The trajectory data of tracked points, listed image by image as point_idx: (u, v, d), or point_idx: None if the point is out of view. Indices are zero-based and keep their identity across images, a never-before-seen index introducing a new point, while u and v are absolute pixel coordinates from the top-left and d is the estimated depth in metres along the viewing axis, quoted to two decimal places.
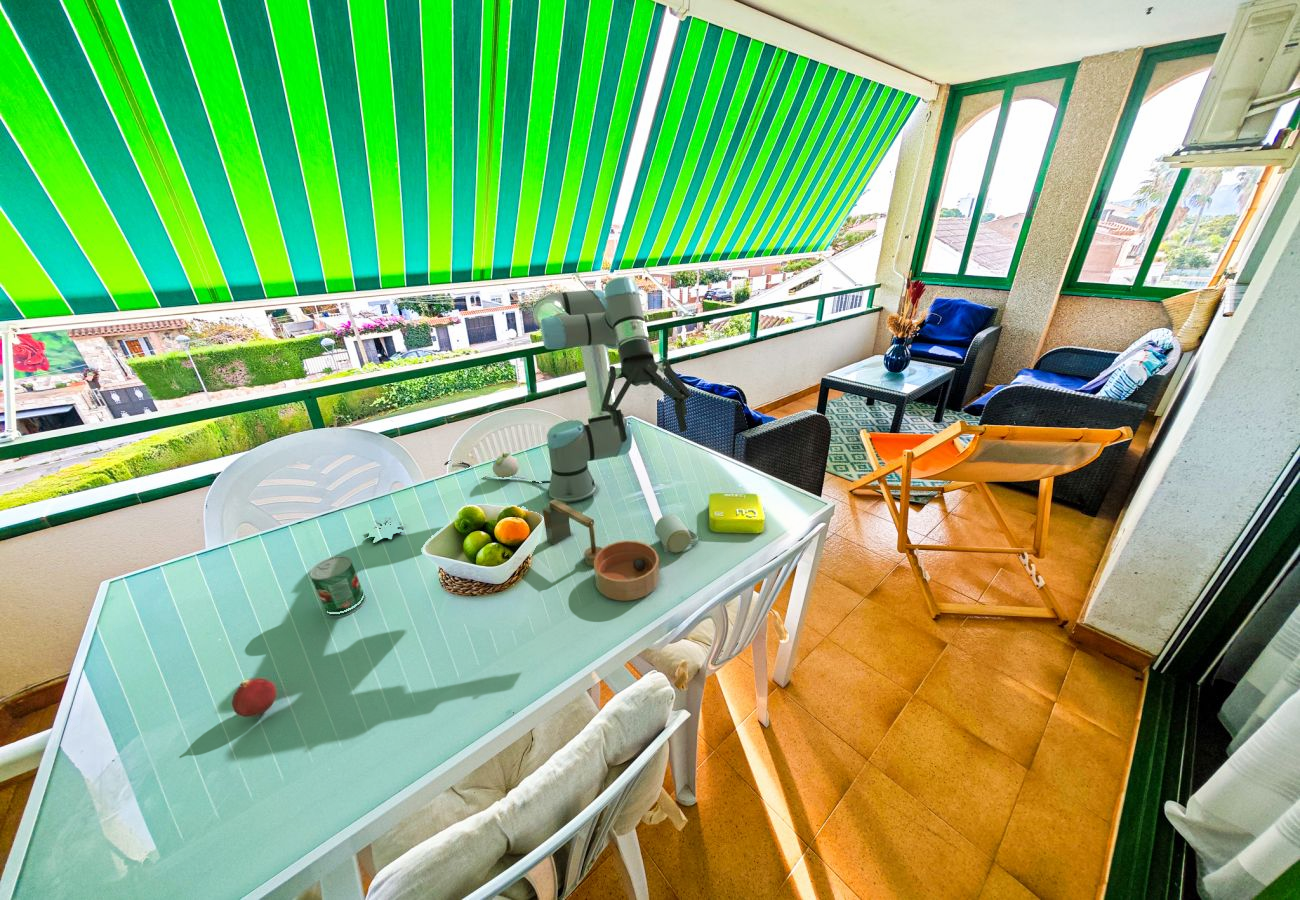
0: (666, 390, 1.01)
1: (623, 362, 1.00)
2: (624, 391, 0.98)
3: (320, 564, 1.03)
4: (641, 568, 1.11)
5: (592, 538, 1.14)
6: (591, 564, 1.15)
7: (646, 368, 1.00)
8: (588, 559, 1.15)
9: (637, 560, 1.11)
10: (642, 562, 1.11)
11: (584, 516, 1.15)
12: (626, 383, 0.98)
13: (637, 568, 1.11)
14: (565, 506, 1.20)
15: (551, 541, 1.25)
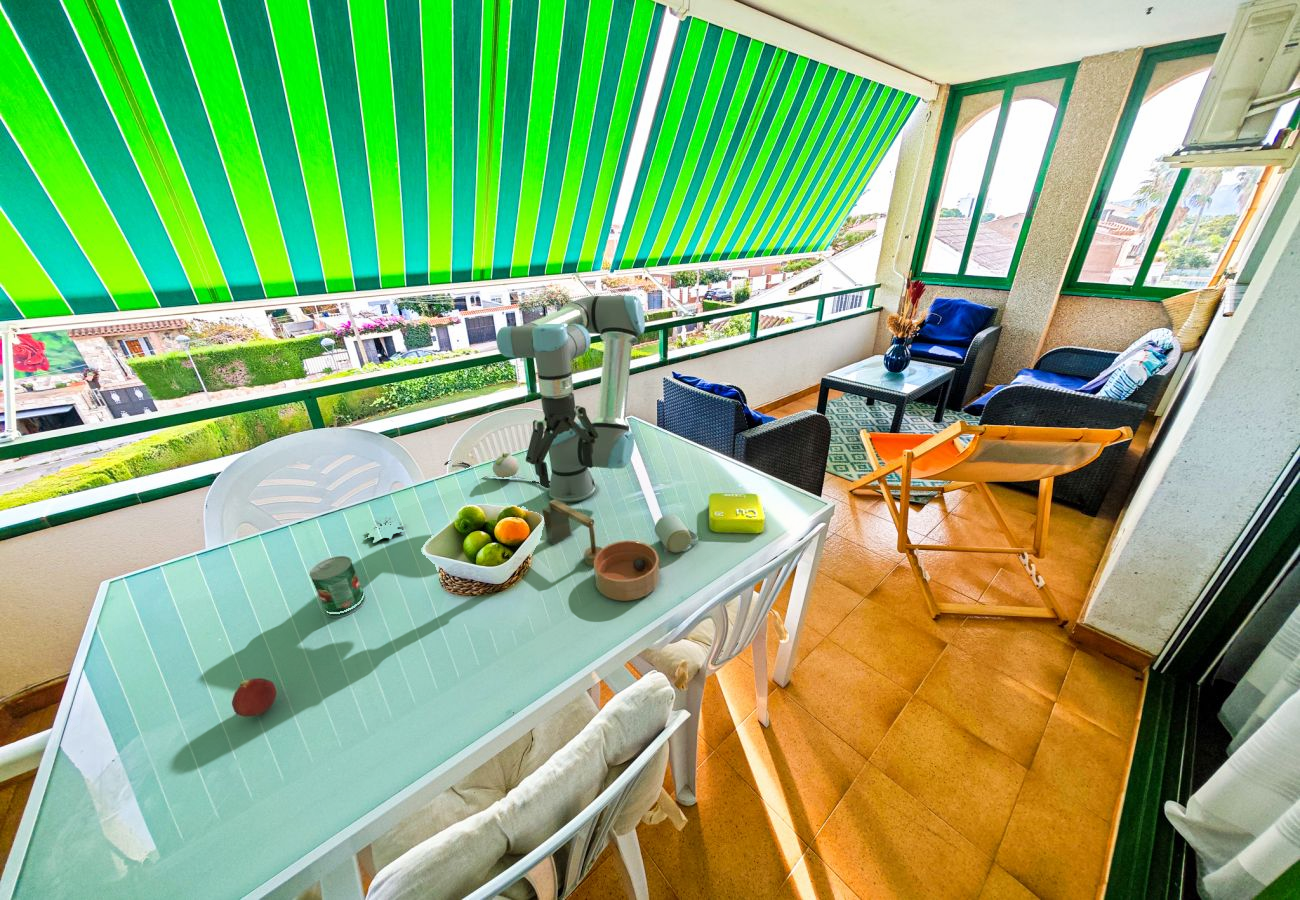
0: (579, 434, 1.13)
1: (549, 416, 1.04)
2: (549, 445, 1.06)
3: (320, 564, 1.03)
4: (641, 568, 1.11)
5: (592, 538, 1.14)
6: (591, 564, 1.15)
7: (569, 421, 1.07)
8: (588, 559, 1.15)
9: (637, 560, 1.11)
10: (642, 562, 1.11)
11: (584, 516, 1.15)
12: (551, 437, 1.05)
13: (637, 568, 1.11)
14: (565, 506, 1.20)
15: (551, 541, 1.25)
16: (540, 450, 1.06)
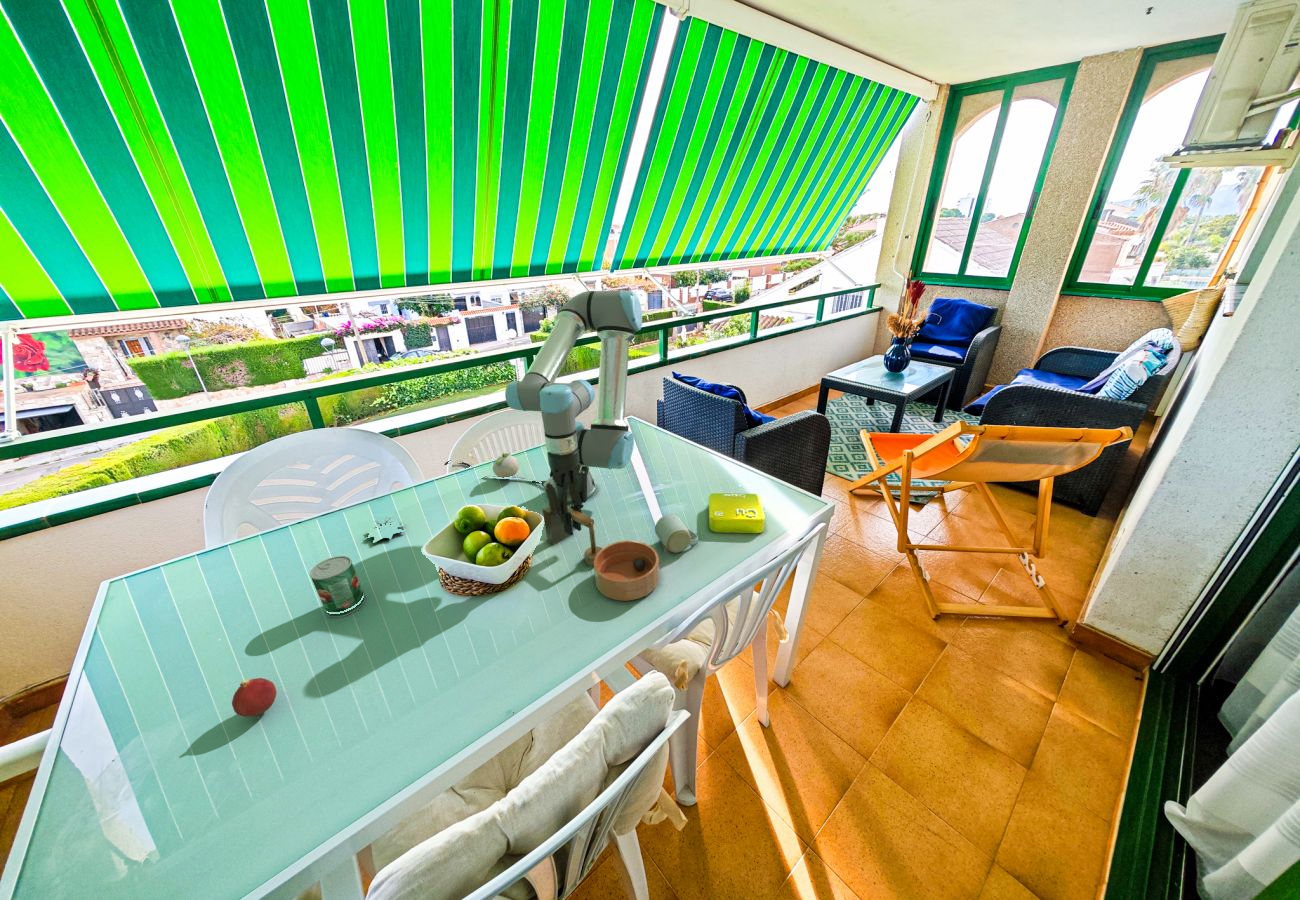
0: (573, 493, 1.17)
1: (555, 471, 1.10)
2: (566, 496, 1.14)
3: (320, 564, 1.03)
4: (641, 568, 1.11)
5: (592, 538, 1.14)
6: (591, 564, 1.15)
7: (573, 473, 1.13)
8: (588, 559, 1.15)
9: (637, 560, 1.11)
10: (642, 562, 1.11)
11: (584, 516, 1.15)
12: (564, 490, 1.13)
13: (637, 568, 1.11)
14: None
15: (551, 541, 1.25)
16: (560, 503, 1.15)
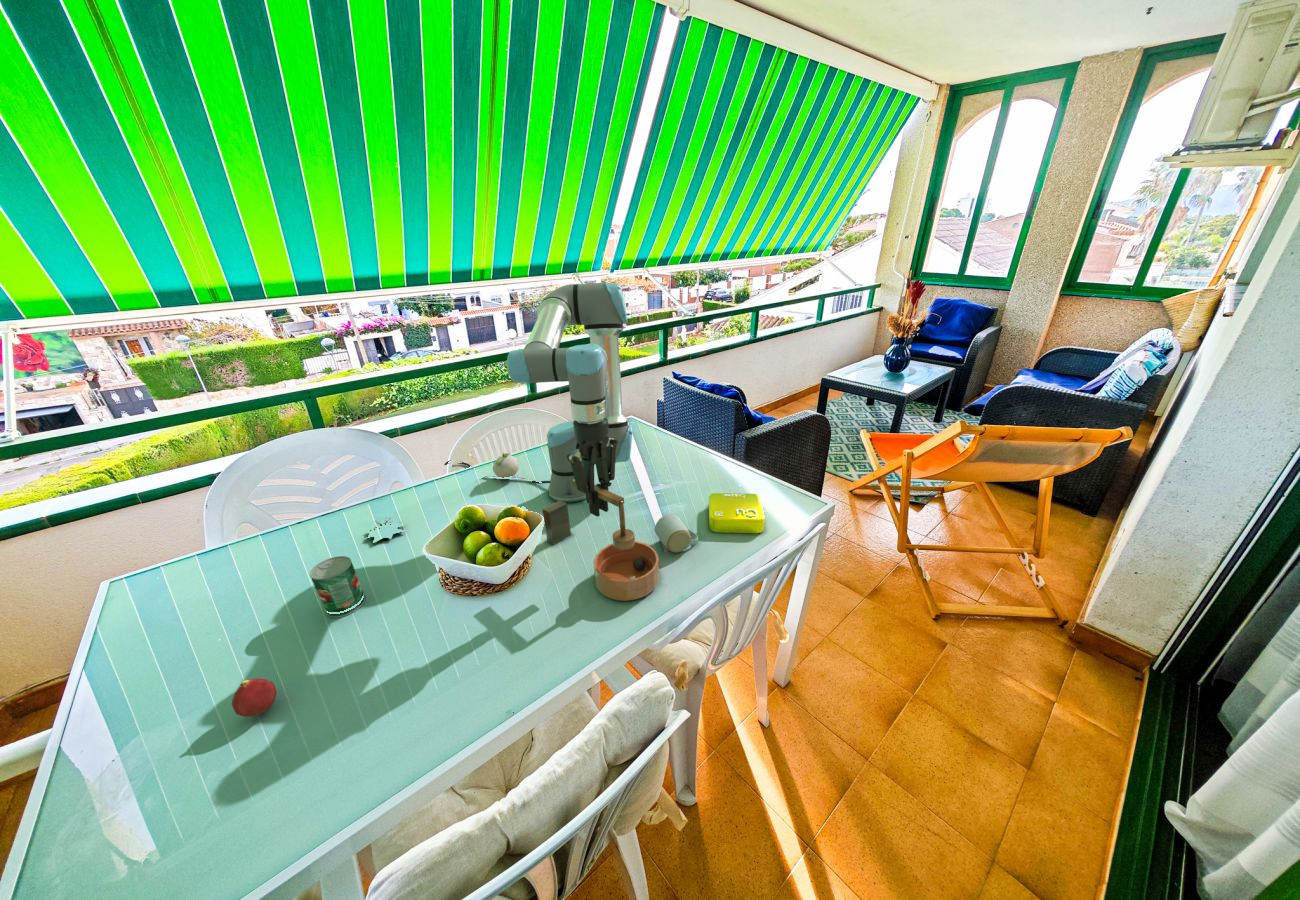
0: (600, 469, 1.05)
1: (582, 442, 0.98)
2: (593, 472, 1.02)
3: (320, 564, 1.03)
4: (641, 568, 1.11)
5: (622, 519, 1.02)
6: (620, 548, 1.03)
7: (601, 446, 1.01)
8: (617, 542, 1.03)
9: (637, 560, 1.11)
10: (642, 562, 1.11)
11: (613, 494, 1.03)
12: (591, 465, 1.01)
13: (637, 568, 1.11)
14: None
15: (551, 541, 1.25)
16: (587, 480, 1.03)
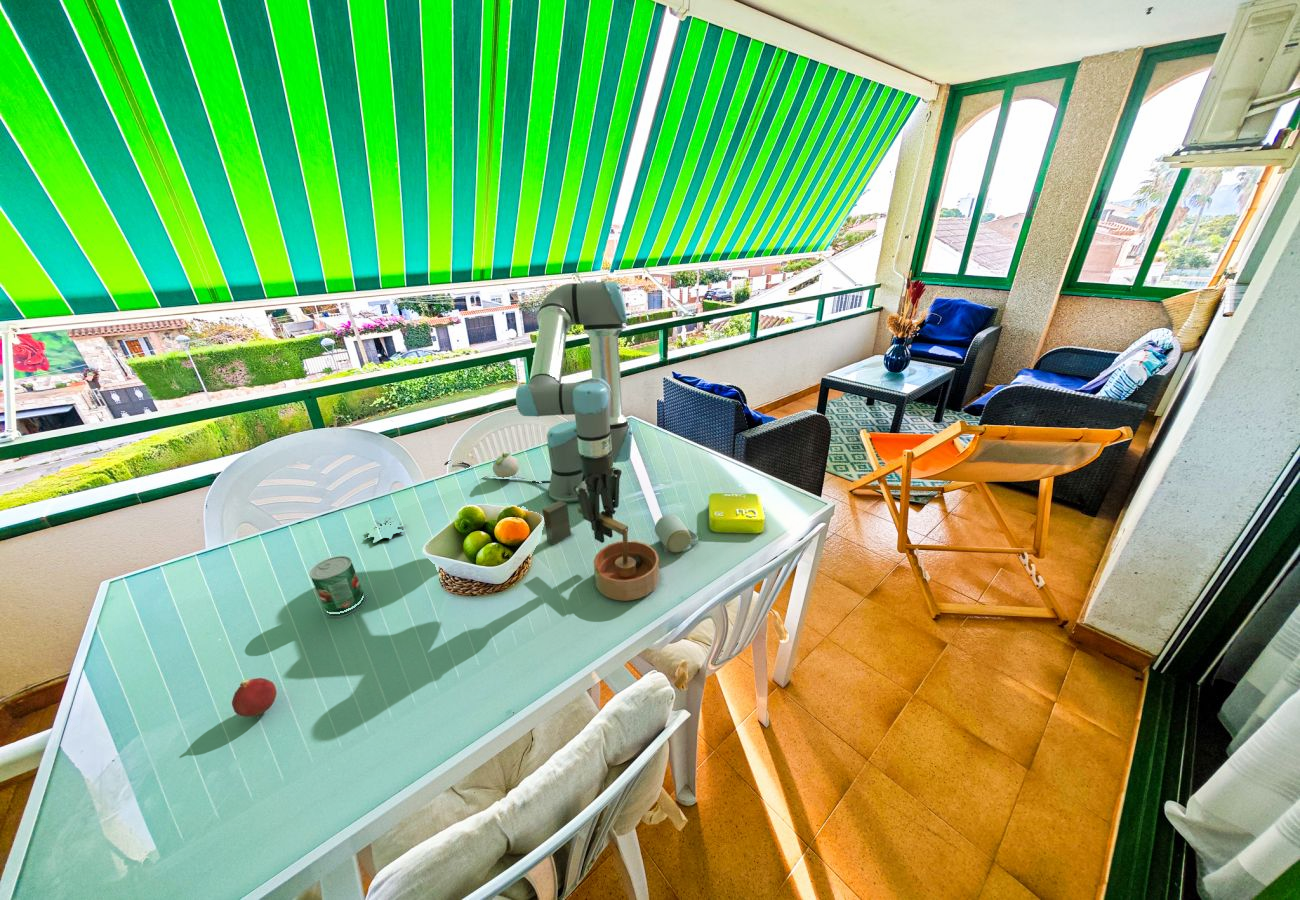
0: (605, 498, 1.10)
1: (588, 475, 1.03)
2: (598, 502, 1.07)
3: (320, 564, 1.03)
4: None
5: (625, 546, 1.07)
6: (622, 574, 1.08)
7: (606, 477, 1.06)
8: (619, 569, 1.08)
9: (636, 555, 1.13)
10: (638, 559, 1.12)
11: (617, 522, 1.09)
12: (597, 496, 1.06)
13: None
14: None
15: (551, 541, 1.25)
16: (592, 509, 1.08)
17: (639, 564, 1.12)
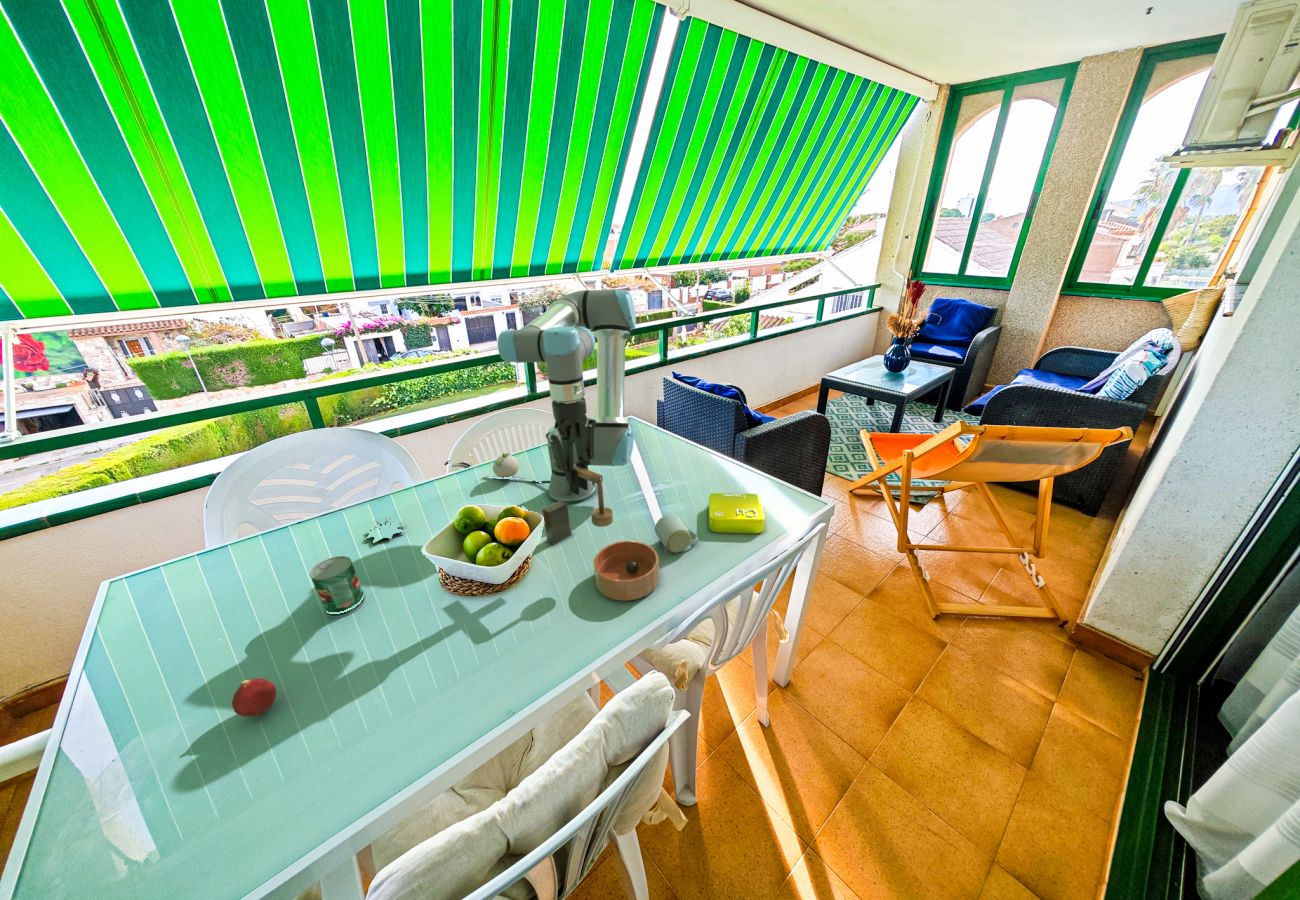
0: (579, 449, 1.08)
1: (560, 421, 1.01)
2: (572, 451, 1.06)
3: (320, 564, 1.03)
4: None
5: (600, 496, 1.06)
6: (599, 524, 1.07)
7: (580, 426, 1.05)
8: (595, 519, 1.06)
9: (628, 568, 1.10)
10: (633, 571, 1.10)
11: (592, 472, 1.07)
12: (570, 444, 1.05)
13: None
14: None
15: (551, 541, 1.25)
16: (566, 458, 1.06)
17: (636, 571, 1.11)
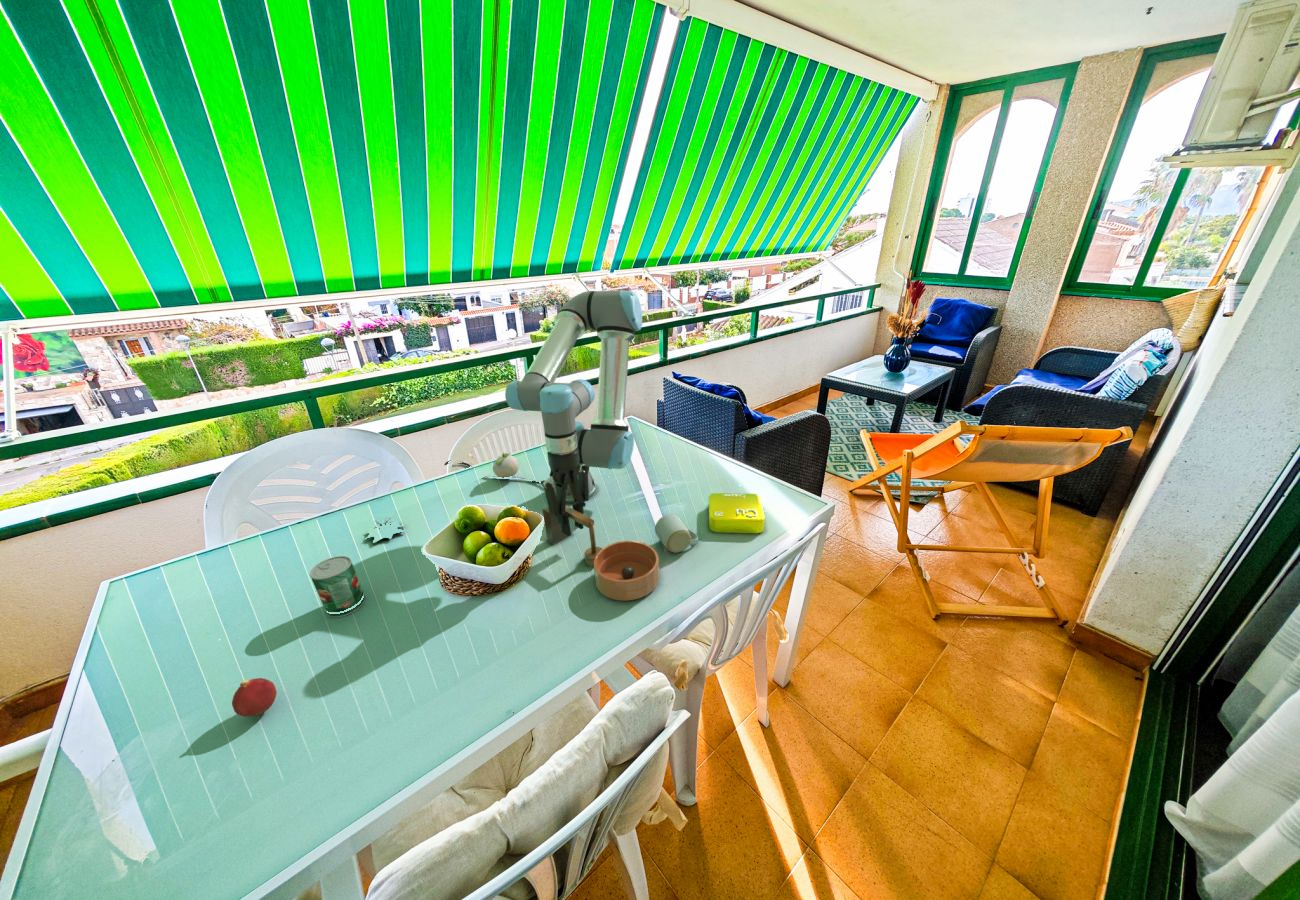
0: (575, 493, 1.17)
1: (555, 470, 1.10)
2: (564, 497, 1.14)
3: (320, 564, 1.03)
4: None
5: (592, 538, 1.14)
6: (591, 564, 1.15)
7: (573, 473, 1.13)
8: (588, 559, 1.15)
9: None
10: None
11: (584, 516, 1.15)
12: (563, 491, 1.13)
13: None
14: None
15: (551, 541, 1.25)
16: (559, 503, 1.14)
17: (633, 572, 1.10)
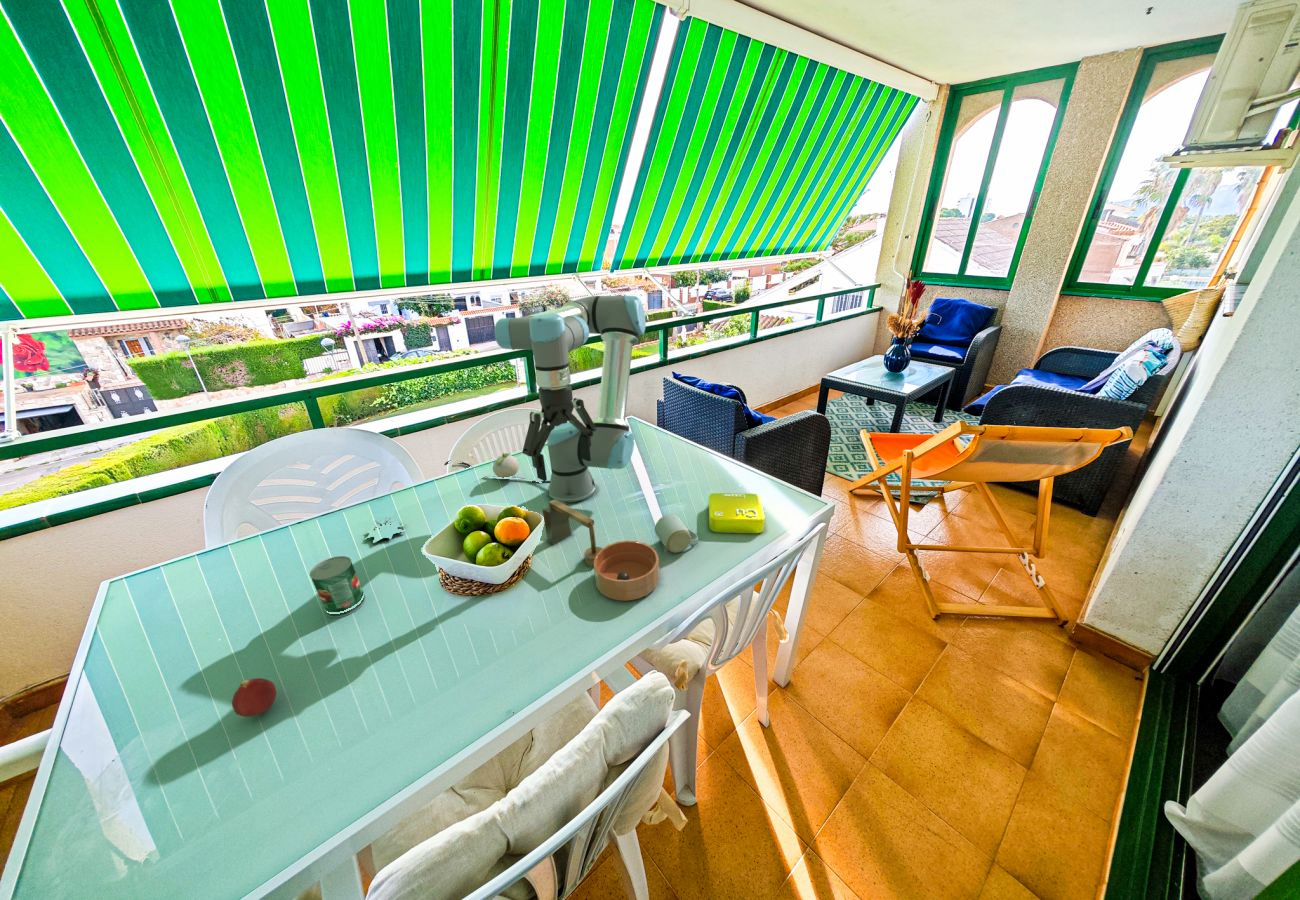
0: (577, 427, 1.12)
1: (546, 407, 1.03)
2: (546, 437, 1.05)
3: (320, 564, 1.03)
4: (625, 573, 1.07)
5: (592, 538, 1.14)
6: (591, 564, 1.15)
7: (566, 413, 1.06)
8: (588, 559, 1.15)
9: None
10: None
11: (584, 516, 1.15)
12: (549, 429, 1.05)
13: (622, 572, 1.08)
14: (565, 506, 1.20)
15: (551, 541, 1.25)
16: (537, 442, 1.05)
17: (627, 576, 1.07)
